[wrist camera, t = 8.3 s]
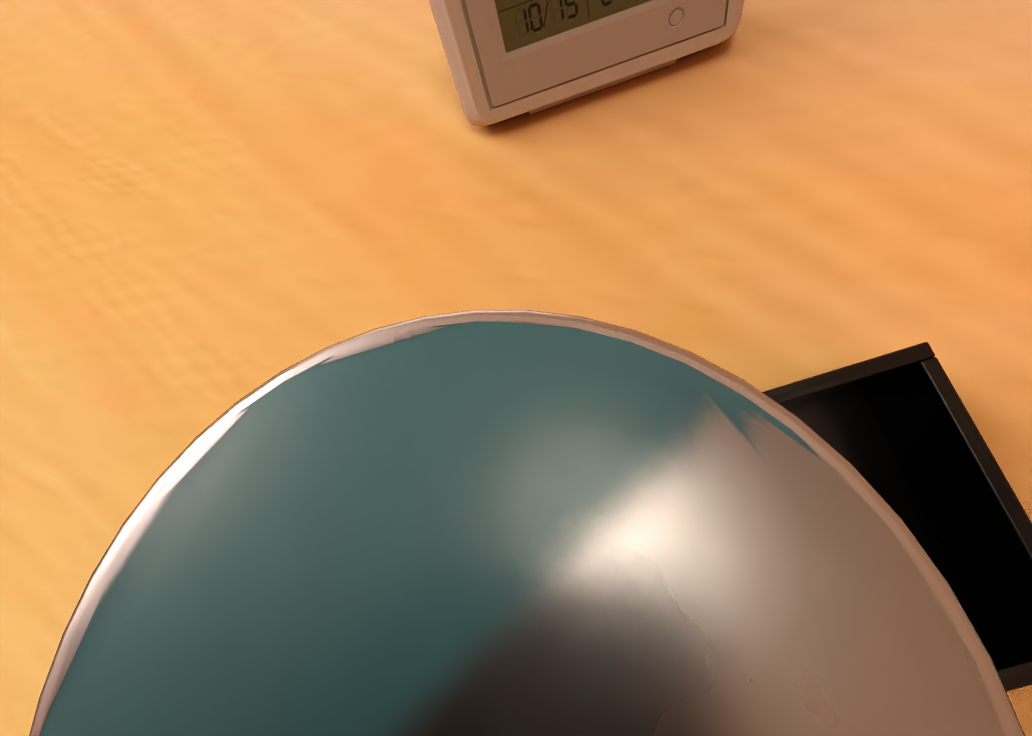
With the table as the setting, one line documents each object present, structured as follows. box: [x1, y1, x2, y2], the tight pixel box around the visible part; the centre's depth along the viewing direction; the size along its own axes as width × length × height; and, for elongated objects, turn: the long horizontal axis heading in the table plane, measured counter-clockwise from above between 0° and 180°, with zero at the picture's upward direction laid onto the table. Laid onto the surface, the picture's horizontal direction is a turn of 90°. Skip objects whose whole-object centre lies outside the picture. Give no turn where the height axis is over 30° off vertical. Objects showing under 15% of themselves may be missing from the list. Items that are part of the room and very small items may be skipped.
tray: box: [762, 342, 1032, 692], centre depth 19 cm, size 11×10×4 cm
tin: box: [29, 310, 1025, 736], centre depth 9 cm, size 6×6×12 cm
